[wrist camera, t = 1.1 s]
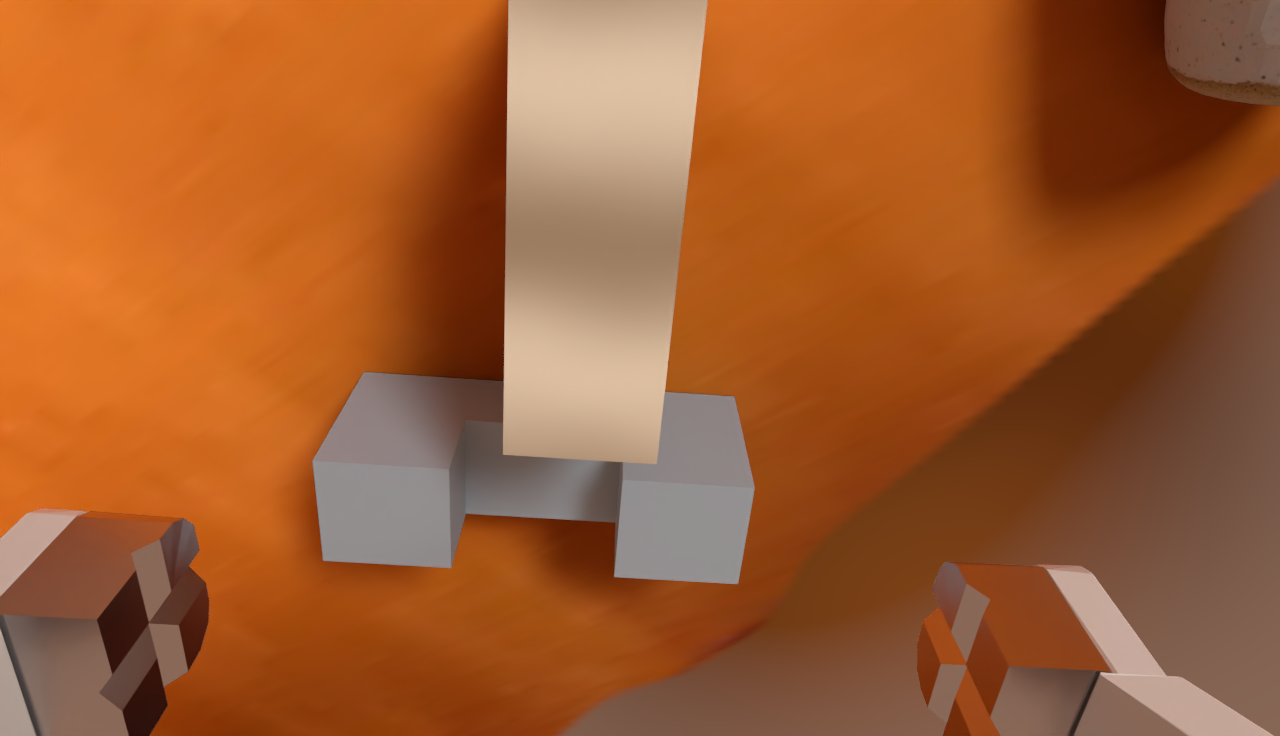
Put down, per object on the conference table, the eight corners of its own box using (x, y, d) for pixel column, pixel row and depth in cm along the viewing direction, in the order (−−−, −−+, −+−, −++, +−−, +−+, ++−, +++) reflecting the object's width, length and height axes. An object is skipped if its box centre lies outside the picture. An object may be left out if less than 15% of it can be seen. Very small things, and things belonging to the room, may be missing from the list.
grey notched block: (370, 461, 34) (323, 560, 29) (364, 372, 33) (312, 460, 27) (721, 482, 35) (738, 584, 30) (734, 396, 33) (754, 488, 28)
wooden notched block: (648, 310, 32) (656, 464, 23) (538, 302, 31) (502, 454, 22) (683, -56, 26) (711, -42, 17) (549, -69, 26) (509, -61, 17)
